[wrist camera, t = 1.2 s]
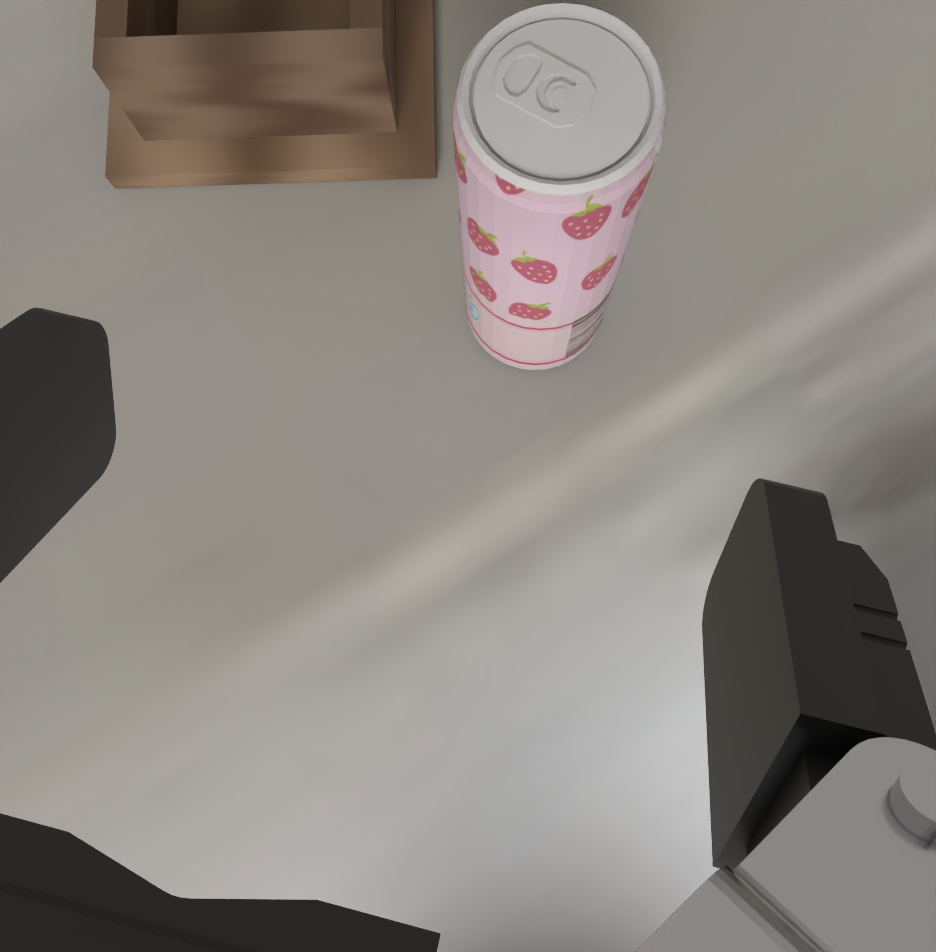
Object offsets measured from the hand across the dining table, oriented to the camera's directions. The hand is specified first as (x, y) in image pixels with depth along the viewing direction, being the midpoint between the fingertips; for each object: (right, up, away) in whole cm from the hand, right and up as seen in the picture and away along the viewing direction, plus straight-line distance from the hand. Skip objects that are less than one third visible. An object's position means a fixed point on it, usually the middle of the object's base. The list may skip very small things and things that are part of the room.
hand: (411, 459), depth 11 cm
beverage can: (+3, +7, +26) cm, 27 cm away
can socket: (-8, +19, +29) cm, 36 cm away
